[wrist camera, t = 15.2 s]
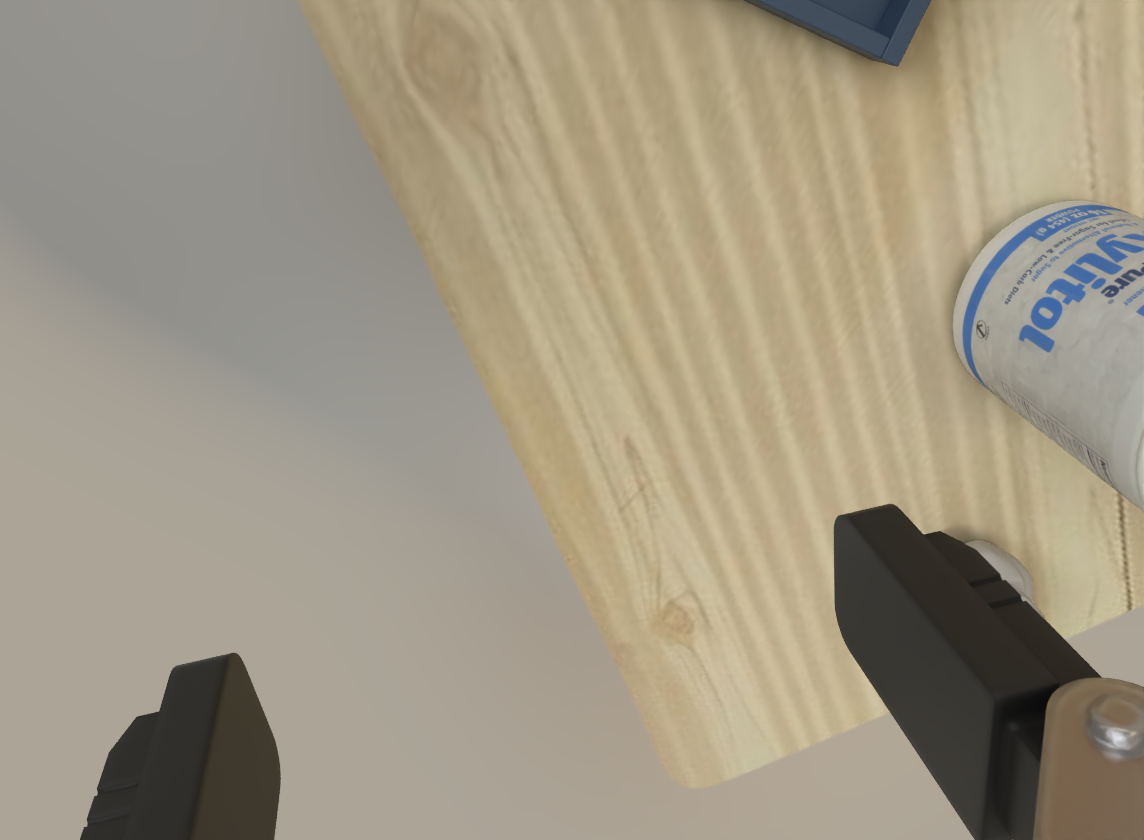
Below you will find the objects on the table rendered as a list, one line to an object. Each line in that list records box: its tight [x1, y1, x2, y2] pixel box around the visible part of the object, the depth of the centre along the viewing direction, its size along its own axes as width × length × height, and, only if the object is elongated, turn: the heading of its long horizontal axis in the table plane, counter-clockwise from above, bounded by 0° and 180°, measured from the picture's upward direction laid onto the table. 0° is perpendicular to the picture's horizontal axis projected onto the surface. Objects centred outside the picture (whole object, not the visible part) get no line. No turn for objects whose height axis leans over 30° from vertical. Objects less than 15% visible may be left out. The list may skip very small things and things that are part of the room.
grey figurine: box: [965, 540, 1045, 619], centre depth 48 cm, size 5×7×8 cm
